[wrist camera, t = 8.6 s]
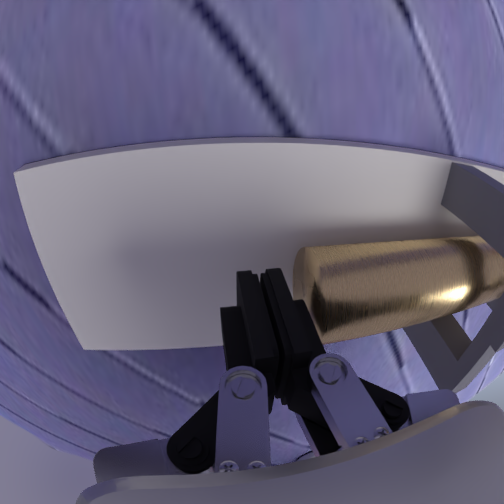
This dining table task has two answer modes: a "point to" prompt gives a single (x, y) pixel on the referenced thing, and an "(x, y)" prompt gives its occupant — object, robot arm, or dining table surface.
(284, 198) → the collar plate
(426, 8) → the dining table surface
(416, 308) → the tube
